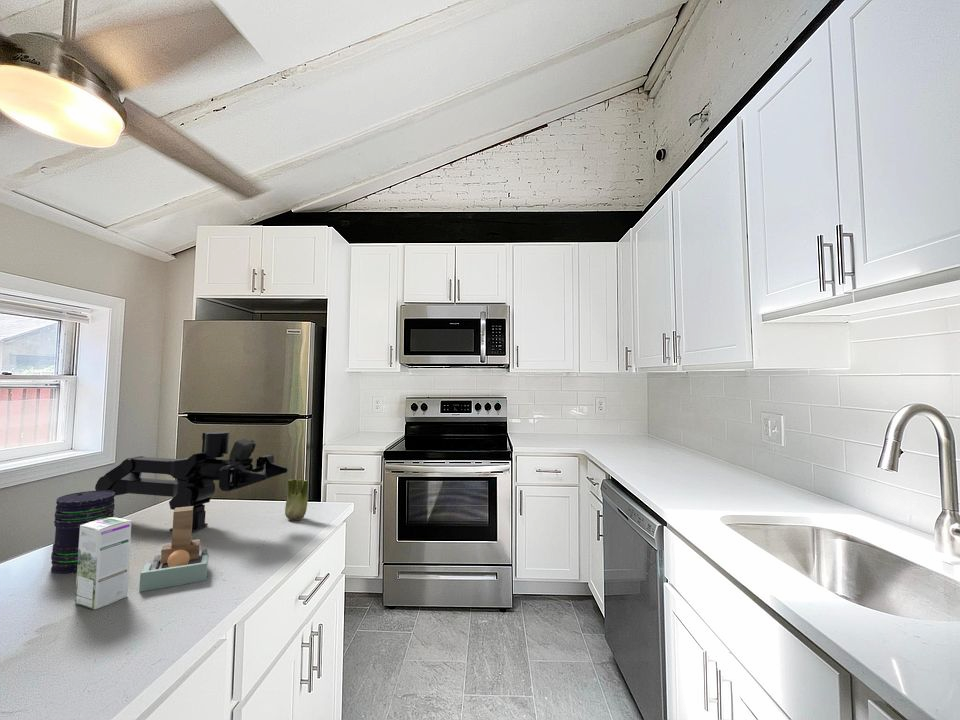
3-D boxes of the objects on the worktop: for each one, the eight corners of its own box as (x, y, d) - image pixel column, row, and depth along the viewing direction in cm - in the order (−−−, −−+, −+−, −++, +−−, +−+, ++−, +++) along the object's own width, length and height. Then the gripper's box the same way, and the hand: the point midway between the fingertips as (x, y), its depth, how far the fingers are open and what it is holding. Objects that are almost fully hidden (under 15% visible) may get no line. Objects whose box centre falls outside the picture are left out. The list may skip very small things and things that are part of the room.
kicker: (163, 557, 99) (166, 508, 100) (199, 552, 103) (202, 504, 103) (160, 563, 96) (163, 513, 96) (198, 558, 99) (201, 509, 100)
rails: (155, 560, 99) (155, 555, 99) (206, 552, 104) (207, 548, 104) (148, 575, 92) (149, 570, 92) (204, 566, 96) (205, 561, 97)
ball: (162, 572, 93) (163, 552, 93) (177, 564, 97) (178, 546, 97) (178, 573, 93) (179, 554, 93) (193, 565, 97) (194, 547, 97)
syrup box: (128, 596, 83) (134, 519, 83) (92, 611, 77) (98, 528, 78) (109, 590, 85) (114, 515, 85) (72, 605, 79) (78, 524, 80)
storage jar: (120, 561, 98) (125, 494, 99) (64, 578, 89) (69, 504, 90) (96, 552, 102) (101, 488, 103) (40, 568, 93) (46, 497, 94)
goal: (144, 578, 90) (145, 561, 90) (207, 568, 95) (208, 552, 96) (139, 591, 84) (140, 573, 85) (205, 580, 90) (206, 563, 90)
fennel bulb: (308, 518, 131) (310, 478, 132) (295, 523, 127) (297, 481, 127) (294, 515, 134) (296, 476, 134) (281, 520, 129) (283, 479, 130)
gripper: (200, 445, 110) (256, 448, 108) (249, 436, 129) (298, 439, 126) (197, 489, 110) (253, 493, 107) (247, 474, 128) (296, 477, 126)
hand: (277, 473), depth 117 cm, fingers open, 9 cm apart
